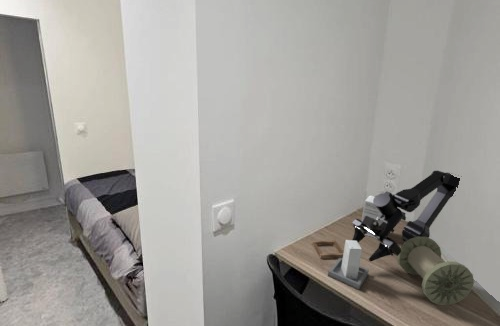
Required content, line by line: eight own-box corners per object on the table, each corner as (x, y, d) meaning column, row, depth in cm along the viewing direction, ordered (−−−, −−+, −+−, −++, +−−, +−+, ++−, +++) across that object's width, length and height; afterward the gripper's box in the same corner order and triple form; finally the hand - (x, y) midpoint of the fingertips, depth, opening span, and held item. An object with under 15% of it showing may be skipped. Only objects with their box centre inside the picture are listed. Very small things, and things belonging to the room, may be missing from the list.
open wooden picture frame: (334, 243, 121) (335, 240, 120) (345, 257, 111) (346, 254, 110) (311, 244, 119) (312, 241, 119) (320, 258, 109) (320, 255, 109)
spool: (466, 306, 88) (479, 265, 84) (420, 304, 88) (430, 263, 84) (433, 272, 104) (442, 237, 100) (394, 271, 104) (401, 235, 100)
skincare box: (357, 279, 97) (362, 249, 94) (345, 278, 97) (350, 248, 94) (352, 268, 103) (357, 240, 100) (340, 267, 103) (345, 239, 100)
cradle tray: (368, 274, 101) (369, 269, 101) (358, 290, 93) (359, 285, 92) (339, 262, 108) (339, 257, 107) (327, 275, 99) (328, 271, 99)
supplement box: (364, 225, 138) (369, 194, 134) (383, 231, 133) (390, 199, 129) (358, 233, 131) (364, 200, 126) (379, 239, 126) (386, 205, 121)
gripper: (359, 199, 105) (332, 229, 104) (401, 220, 89) (369, 257, 88) (371, 215, 110) (346, 244, 109) (413, 238, 94) (384, 273, 93)
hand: (359, 253), depth 99 cm, fingers open, 9 cm apart
